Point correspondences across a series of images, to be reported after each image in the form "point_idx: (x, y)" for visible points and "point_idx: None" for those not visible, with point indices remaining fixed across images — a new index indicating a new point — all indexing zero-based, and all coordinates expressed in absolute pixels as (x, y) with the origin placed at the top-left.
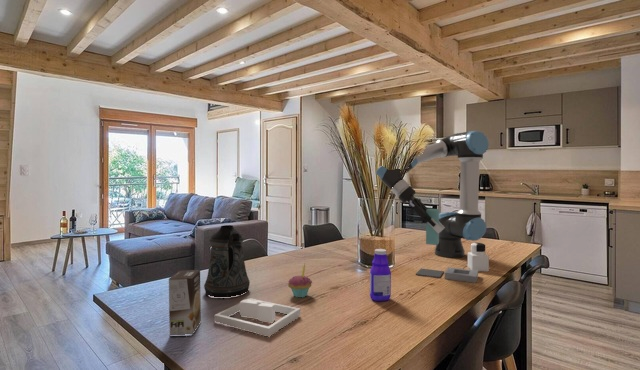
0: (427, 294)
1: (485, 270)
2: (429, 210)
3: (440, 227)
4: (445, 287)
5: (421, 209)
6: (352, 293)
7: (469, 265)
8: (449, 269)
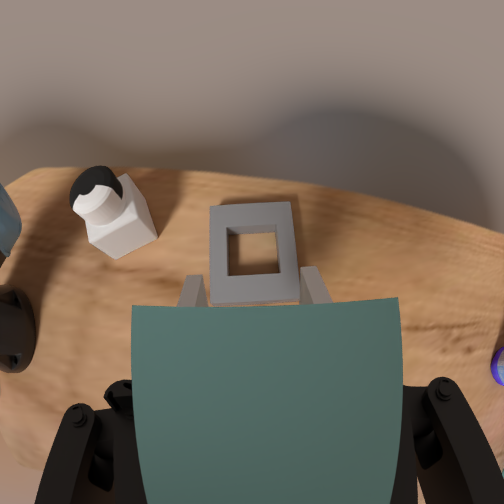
0: (446, 299)
1: (146, 204)
2: (395, 452)
3: (323, 283)
4: (380, 276)
5: (490, 497)
6: (491, 425)
7: (128, 247)
8: (242, 293)
